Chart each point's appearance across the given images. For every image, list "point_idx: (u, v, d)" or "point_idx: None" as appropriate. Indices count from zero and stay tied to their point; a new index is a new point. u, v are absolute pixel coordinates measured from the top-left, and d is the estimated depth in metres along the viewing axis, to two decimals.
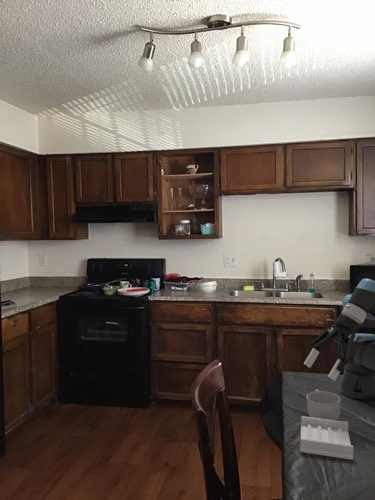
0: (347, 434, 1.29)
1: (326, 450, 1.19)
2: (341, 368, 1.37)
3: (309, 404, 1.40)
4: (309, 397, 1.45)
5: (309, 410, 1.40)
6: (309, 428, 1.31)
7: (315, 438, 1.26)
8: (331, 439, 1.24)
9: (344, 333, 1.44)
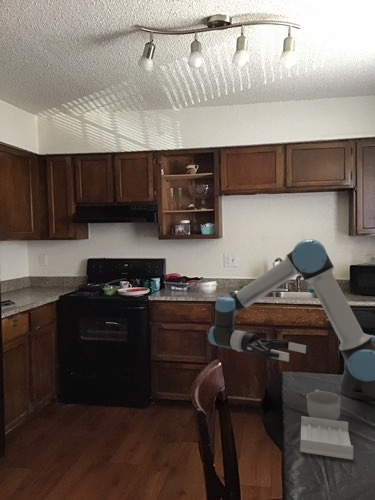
0: (347, 434, 1.29)
1: (326, 450, 1.19)
2: (274, 355, 1.45)
3: (309, 404, 1.40)
4: (309, 397, 1.45)
5: (309, 410, 1.40)
6: (309, 428, 1.31)
7: (315, 438, 1.26)
8: (331, 439, 1.24)
9: None
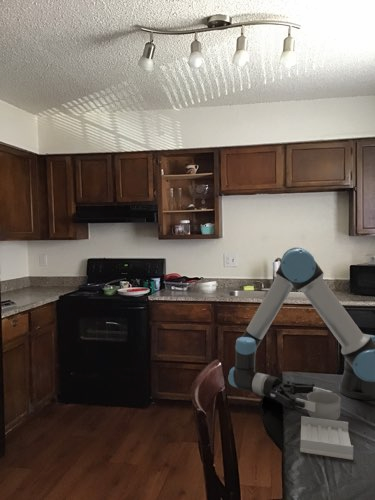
0: (347, 434, 1.29)
1: (326, 450, 1.19)
2: (300, 405, 1.39)
3: None
4: (309, 397, 1.45)
5: (309, 410, 1.40)
6: (309, 428, 1.31)
7: (315, 438, 1.26)
8: (331, 439, 1.24)
9: None
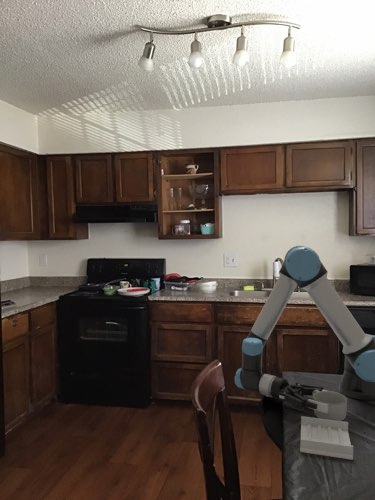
0: (347, 434, 1.29)
1: (326, 450, 1.19)
2: (312, 406, 1.38)
3: None
4: None
5: (319, 412, 1.39)
6: (309, 428, 1.31)
7: (315, 438, 1.26)
8: (331, 439, 1.24)
9: None
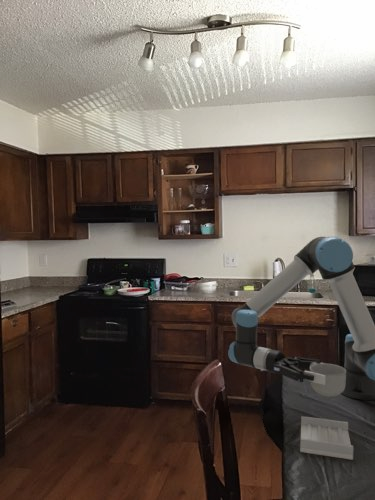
0: (347, 434, 1.29)
1: (326, 450, 1.19)
2: (309, 377, 1.29)
3: None
4: None
5: (316, 384, 1.30)
6: (309, 428, 1.31)
7: (315, 438, 1.26)
8: (331, 439, 1.24)
9: None
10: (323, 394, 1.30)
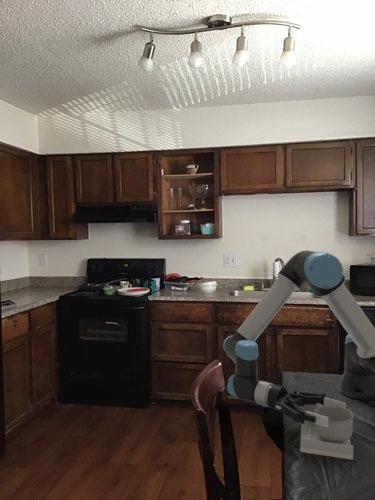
0: None
1: (326, 450, 1.19)
2: (310, 419, 1.21)
3: None
4: None
5: (322, 430, 1.22)
6: (309, 428, 1.31)
7: (315, 438, 1.26)
8: None
9: None
10: (329, 441, 1.22)
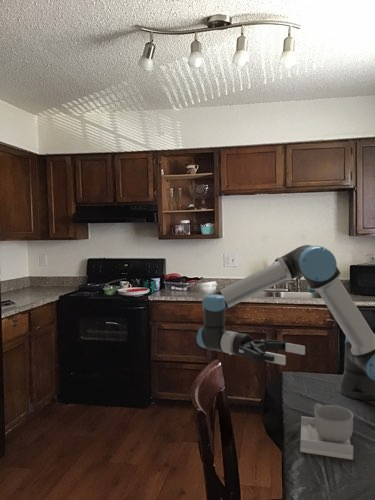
0: None
1: (326, 450, 1.19)
2: (269, 358, 1.28)
3: (322, 423, 1.22)
4: None
5: (322, 430, 1.22)
6: (309, 428, 1.31)
7: (315, 438, 1.26)
8: None
9: None
10: (329, 441, 1.22)
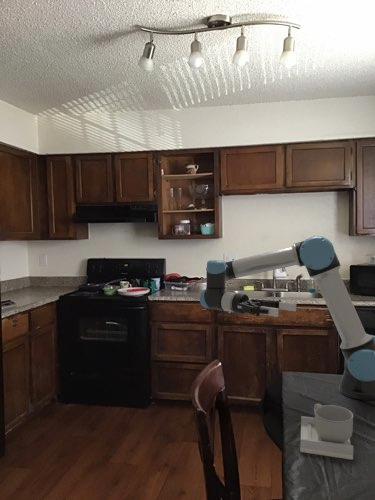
0: None
1: (326, 450, 1.19)
2: (264, 311, 1.45)
3: (322, 423, 1.22)
4: None
5: (322, 430, 1.22)
6: (309, 428, 1.31)
7: (315, 438, 1.26)
8: None
9: None
10: (329, 441, 1.22)
